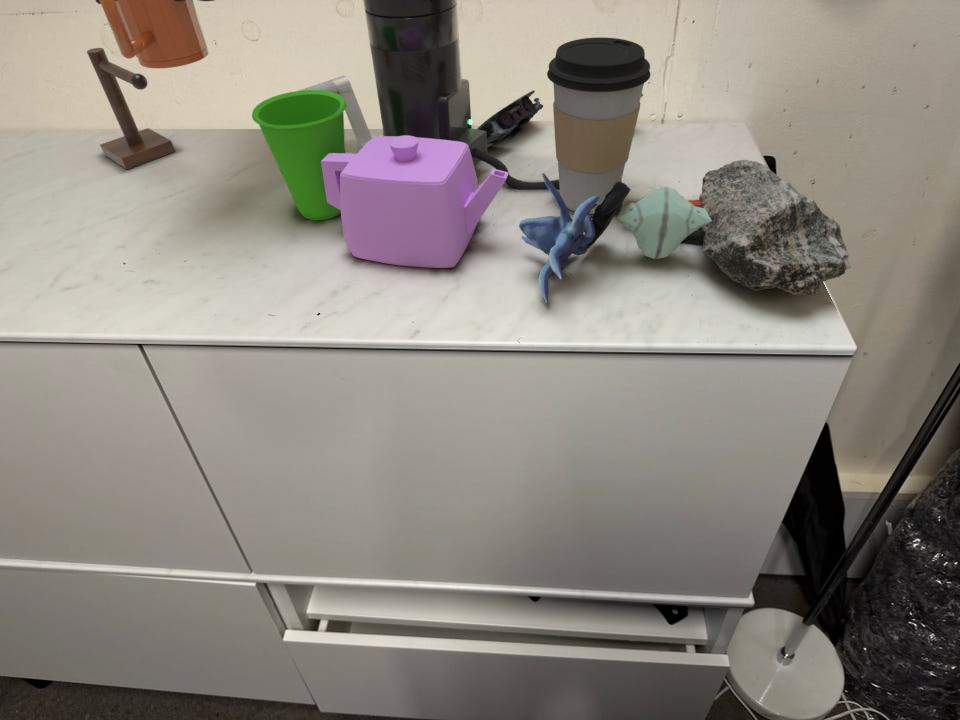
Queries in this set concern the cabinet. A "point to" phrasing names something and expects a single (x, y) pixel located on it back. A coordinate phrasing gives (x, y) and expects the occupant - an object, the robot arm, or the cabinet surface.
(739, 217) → the rock
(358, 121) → the tablet stand
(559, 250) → the figurine
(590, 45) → the coffee cup
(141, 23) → the mug
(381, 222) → the teapot
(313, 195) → the cup
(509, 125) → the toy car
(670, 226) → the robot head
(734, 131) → the cabinet surface
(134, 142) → the mug stand
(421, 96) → the robot arm
